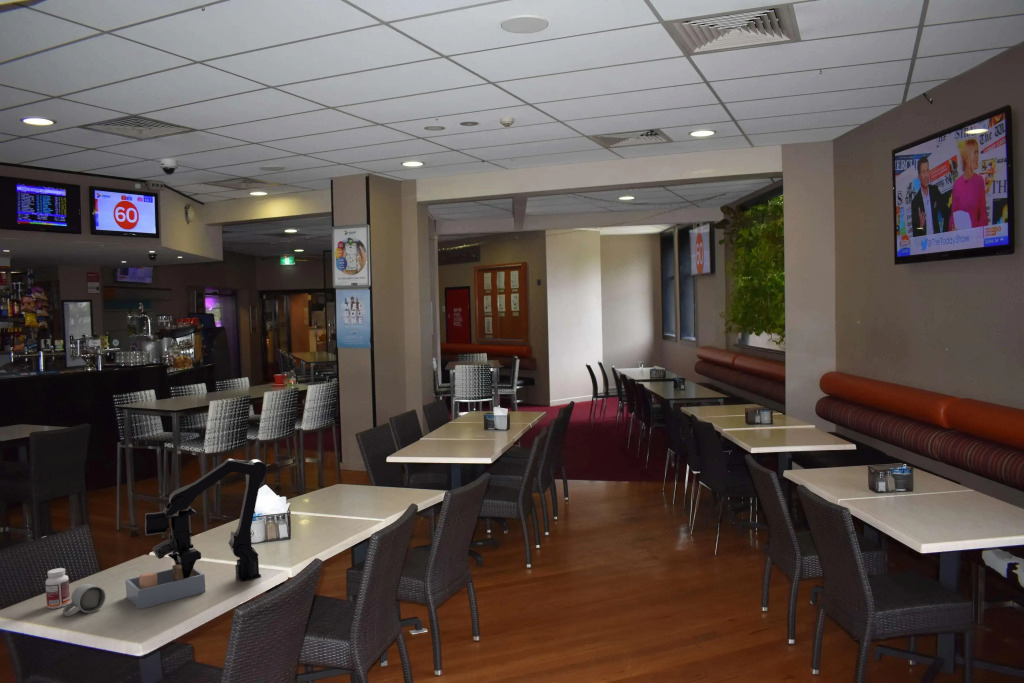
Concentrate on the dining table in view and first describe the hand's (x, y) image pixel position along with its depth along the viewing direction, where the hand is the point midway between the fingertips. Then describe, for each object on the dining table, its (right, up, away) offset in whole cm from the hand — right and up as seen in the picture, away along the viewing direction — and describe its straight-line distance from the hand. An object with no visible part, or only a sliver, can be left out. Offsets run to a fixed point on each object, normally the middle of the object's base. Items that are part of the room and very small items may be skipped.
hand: (183, 577), depth 237 cm
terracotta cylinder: (-8, -4, -7) cm, 11 cm away
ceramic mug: (-24, -6, -15) cm, 28 cm away
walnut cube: (0, -1, 0) cm, 1 cm away
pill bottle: (-35, -6, -9) cm, 37 cm away
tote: (-4, -4, -4) cm, 7 cm away
